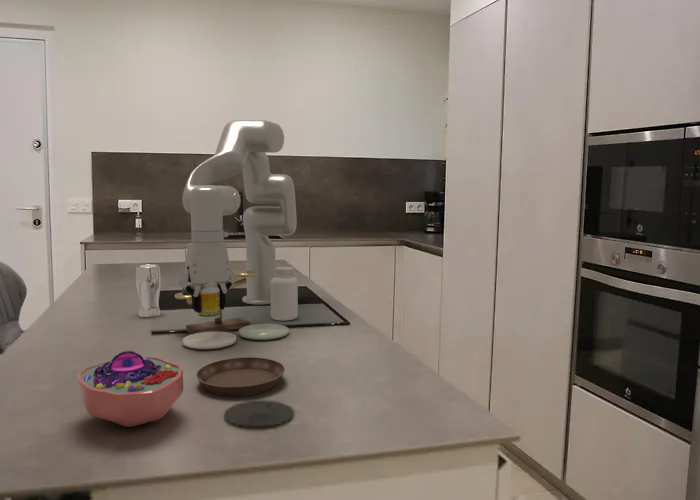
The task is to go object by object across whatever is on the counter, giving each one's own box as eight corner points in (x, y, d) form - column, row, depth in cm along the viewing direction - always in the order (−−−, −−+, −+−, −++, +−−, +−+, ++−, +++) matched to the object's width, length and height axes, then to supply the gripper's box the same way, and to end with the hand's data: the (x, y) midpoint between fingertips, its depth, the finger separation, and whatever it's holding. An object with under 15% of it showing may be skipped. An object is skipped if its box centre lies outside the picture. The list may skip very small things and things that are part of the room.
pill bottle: (302, 316, 179) (302, 267, 177) (289, 322, 172) (288, 270, 170) (280, 313, 182) (279, 265, 180) (265, 319, 175) (264, 268, 173)
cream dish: (223, 334, 159) (223, 329, 159) (244, 345, 148) (244, 340, 148) (175, 341, 151) (175, 336, 151) (194, 354, 141) (193, 348, 141)
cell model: (84, 453, 91) (80, 381, 90) (76, 407, 109) (73, 347, 107) (196, 431, 99) (194, 365, 98) (171, 392, 117) (170, 335, 115)
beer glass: (154, 318, 175) (152, 268, 173) (132, 317, 176) (130, 267, 175) (166, 313, 182) (164, 264, 180) (145, 312, 183) (143, 263, 181)
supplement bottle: (196, 315, 150) (195, 278, 149) (217, 313, 153) (216, 276, 151) (200, 320, 145) (199, 281, 144) (222, 318, 148) (221, 280, 147)
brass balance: (251, 320, 174) (251, 269, 172) (262, 325, 168) (262, 273, 166) (172, 332, 160) (170, 277, 159) (181, 338, 155) (179, 281, 153)
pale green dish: (274, 326, 167) (274, 321, 167) (297, 336, 157) (297, 331, 157) (230, 333, 160) (230, 327, 160) (252, 344, 149) (252, 339, 149)
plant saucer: (205, 406, 110) (204, 390, 110) (190, 376, 126) (189, 362, 126) (296, 393, 117) (296, 378, 117) (271, 366, 134) (271, 353, 133)
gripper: (233, 234, 154) (234, 303, 157) (167, 238, 145) (169, 311, 147) (246, 237, 148) (247, 308, 151) (178, 241, 139) (180, 317, 141)
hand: (209, 309), depth 149 cm, fingers closed on supplement bottle, 5 cm apart
